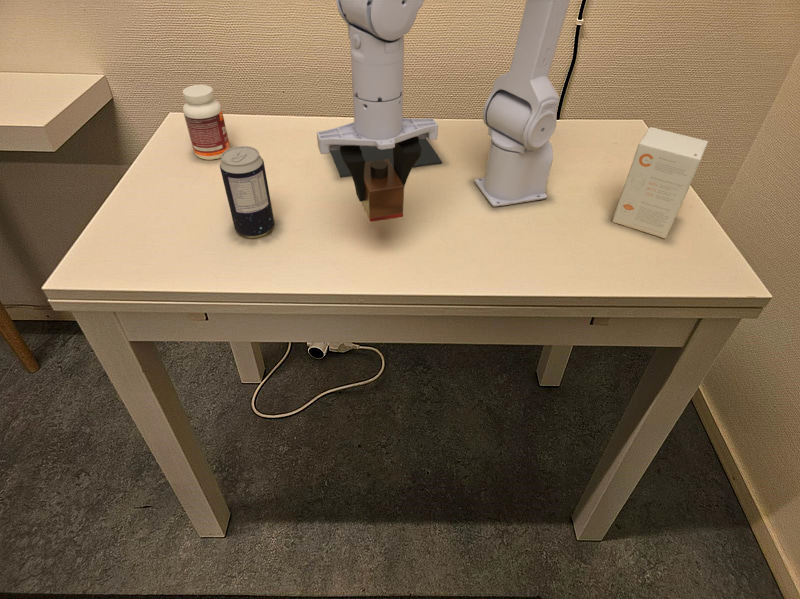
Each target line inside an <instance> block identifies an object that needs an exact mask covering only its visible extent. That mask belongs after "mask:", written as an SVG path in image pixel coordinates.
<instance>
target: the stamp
mask: <svg viewBox="0 0 800 599" xmlns="http://www.w3.org/2000/svg"><path fill="white" fill-rule="evenodd" d="M364 188H365V201H361V202H360V204H361V205H362V207H363V210H364V213H365V215H366V217H367V219H368V221H369V223H374V222H381V221H386V220H391V219H398V218H403V217H404V202H405V200H404V199H405V187H404V186H403V184H402V182H401V180H400V179H399V177H398V175H397V173H396V171H395V170H394V168H393V166H392V164H391V163H390V161H389V159H385V160H376V161H370V162H365V168H364Z"/></svg>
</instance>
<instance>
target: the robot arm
mask: <svg viewBox="0 0 800 599" xmlns="http://www.w3.org/2000/svg"><path fill="white" fill-rule="evenodd" d="M335 1H336V6H337V7H336V8H337V10H338V13H339V15H340V17H341V19H342V20H343V21H344V23H345V24H346V27H347V32H348V33H347V34H348V35H347V36H348V39H349V43H350V64H351V65H350V66H351V87H352V108H353V121H352V122H349V123H346V124H343V125H340V126H337V127H334V128H329V129H326V130H320V131H316V141H317V148H318V150H319V153H320V154H321V155H327V154H331V153H330V150H337V149H339V151H340V154H341V156H342V158H343V160H344V162H345V164H346V166H347V167H348V169H349V171H350V173H351V175H352V176H351V178H352V181H353V185H354V188H355V194H356V197H357V199H358V202H360V203H361V201H365V188H364V168H365V160H364V158H363V156H362V151H361V149H360V147H361V146H377V148H378V149H380V150H383V149H391V148H393V158H394V170H395V171H396V173H397V175H398V177H399V179H400V180H401V182H402V184H403V186H404V188H405V186H406V183H407V181H408V178H409V176H410V173H411V171H412V170H413V168H414V167H413V166H414V164H415V163H416V161H417V160H418V159H419V157H420V156H421V151H422V147H421V146H420V144H419V139H423V138H426V139H427V140H429V141H435V140H438V136H439V135H438V133H439V124H438V123H437V121H436V120H435V119H434V118H433V117H429V118H414V117H413V118H410V117H403V111H404V110H403V107H404V66H405V65H404V64H405V62H404V60H405V57H404V56H405V55H404V54H405V35H406V34H408V33H409V32H410V31H411V29H413V26H414V25H415V22H416V19H417V15H418V12H419V10H420V9H421V8H422V7H423V6H424V4H423V3H424V2H425V0H335ZM570 3H571V0H526V2H525V6H524V9H523V14H522V18H521V22H520V26H519V31H518V34H517V39H516V44H515V47H514V50H513V51H514V52H513V56H512V59H511V64H510V68H509V71H507V72H506V73H504V74H501V75H500V76H499V77H496V78H495V79H494V81H493V83H492V84H493V85H492V88H491V91H490V94H489V96H488V97H487V99H486V101H485V103H484V105H483V109H482V121H483V123H484V125H485V126H486V127H487V128H488V131H487V135H488V136H489V137H490V142H489V148H488V156H487V163H486V170H485V176H484V177H479V178H478V177H477V178H475V179H474V184H475V185H476V186H477V187H478V189H479V190H480V192H481V193H482V194H483V195H484V197H485V198H486V200H487V201H488V202H489V204H490V205H491V206H492V207H494V208H498V207H503V206H504V207H505V206H509V205H515V204H523V203H529V202H534V201H541V200H546V199H548V195H547V194H546V190H547V186H548V181H549V178H550V173H551V169H552V166H553V160H554V152H553V150H554V149H553V146H552V143H551V141H550V139H551V138H552V136H553V134H554V132H555V130H556V127H557V120H558V119H557V115H558V114H557V112H558V110H557V109H558V106H559V103H560V100H561V99H560V96H559V93H558V92H557V90H556V89H555V87H554V84H553V83H552V81H551V80H550V76H549V75H550V73H551V69H552V66H553V61H554V58H555V55H556V52H557V48H558V44H559V40H560V38H561V34H562V31H563V27H564V23H565V19H566V16H567V12H568V9H569V6H570Z"/></svg>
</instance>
